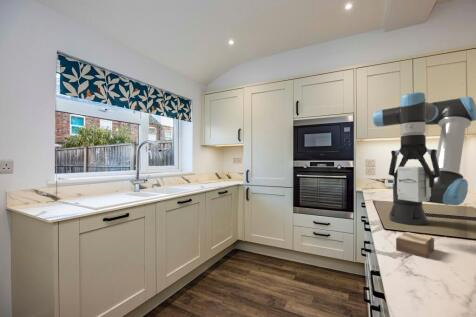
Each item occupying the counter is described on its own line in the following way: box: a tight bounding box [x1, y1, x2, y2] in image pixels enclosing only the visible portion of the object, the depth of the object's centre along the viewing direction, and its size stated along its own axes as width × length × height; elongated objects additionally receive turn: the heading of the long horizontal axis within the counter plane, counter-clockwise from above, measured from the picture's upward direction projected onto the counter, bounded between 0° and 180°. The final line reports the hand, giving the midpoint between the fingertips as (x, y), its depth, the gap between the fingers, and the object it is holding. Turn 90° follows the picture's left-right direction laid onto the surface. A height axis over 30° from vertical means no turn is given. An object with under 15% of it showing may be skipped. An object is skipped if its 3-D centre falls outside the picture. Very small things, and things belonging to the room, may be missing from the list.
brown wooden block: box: [395, 231, 435, 259], centre depth 77 cm, size 10×8×4 cm
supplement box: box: [397, 166, 430, 203], centre depth 87 cm, size 7×7×13 cm
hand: (413, 195), depth 87 cm, fingers closed on supplement box, 8 cm apart
